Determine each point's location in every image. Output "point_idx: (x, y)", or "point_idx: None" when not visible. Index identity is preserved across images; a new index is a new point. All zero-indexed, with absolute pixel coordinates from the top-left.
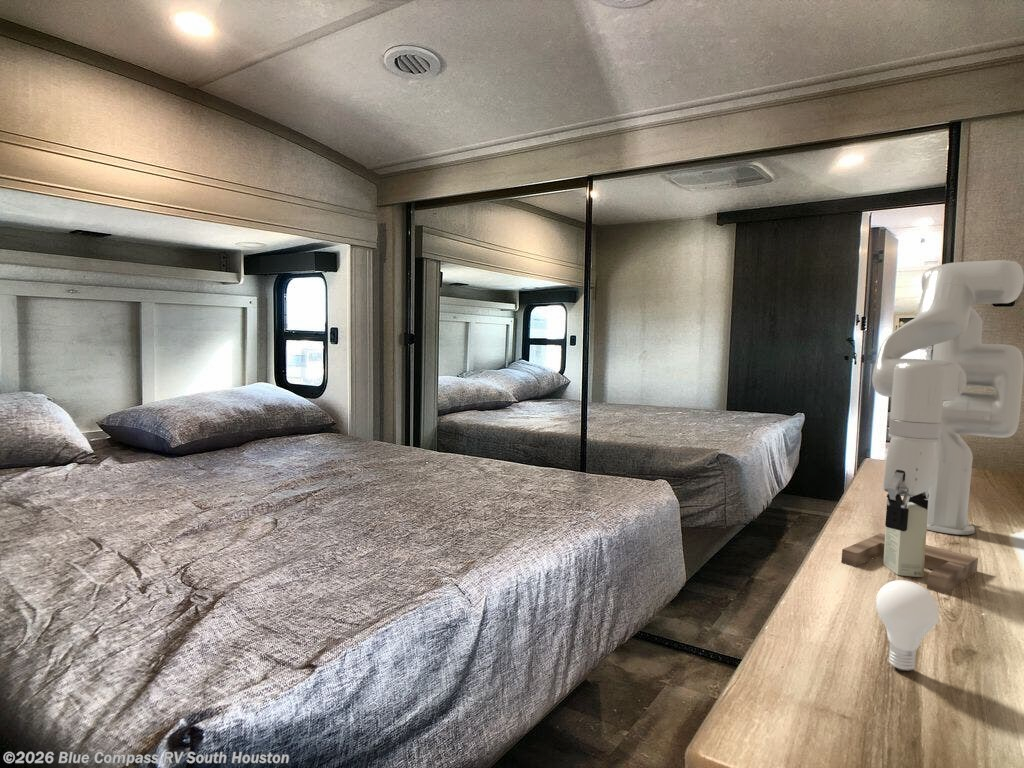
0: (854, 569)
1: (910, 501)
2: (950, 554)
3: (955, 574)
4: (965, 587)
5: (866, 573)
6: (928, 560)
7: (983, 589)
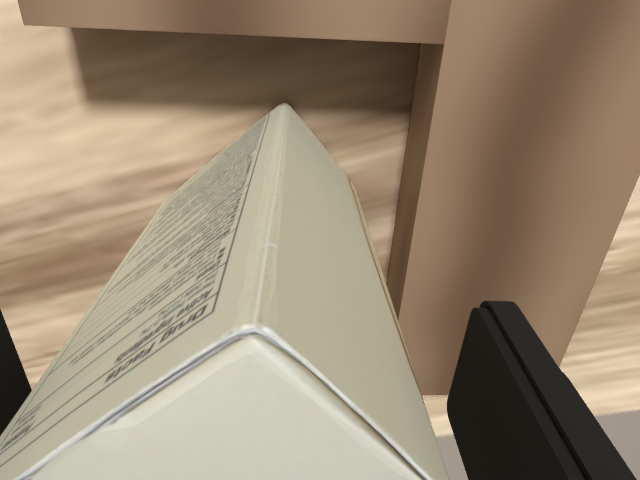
0: (21, 31)
1: (539, 474)
2: None
3: None
4: None
5: (33, 99)
6: (400, 270)
7: None
